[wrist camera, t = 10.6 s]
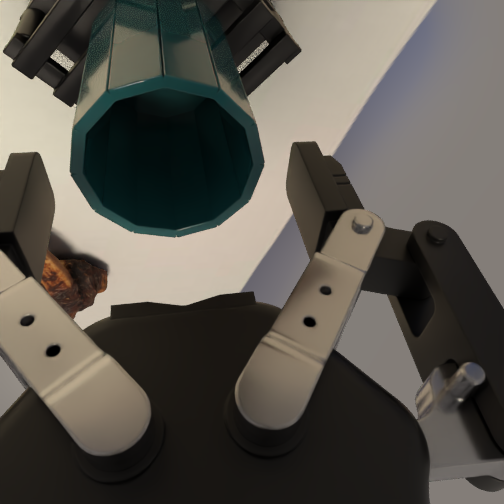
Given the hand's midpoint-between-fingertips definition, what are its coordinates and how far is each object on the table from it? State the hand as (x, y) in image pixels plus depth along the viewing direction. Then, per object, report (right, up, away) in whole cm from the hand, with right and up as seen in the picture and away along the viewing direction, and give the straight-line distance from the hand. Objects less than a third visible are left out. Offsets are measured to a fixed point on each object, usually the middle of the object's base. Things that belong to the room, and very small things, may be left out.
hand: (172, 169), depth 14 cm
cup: (-2, +7, +6) cm, 9 cm away
